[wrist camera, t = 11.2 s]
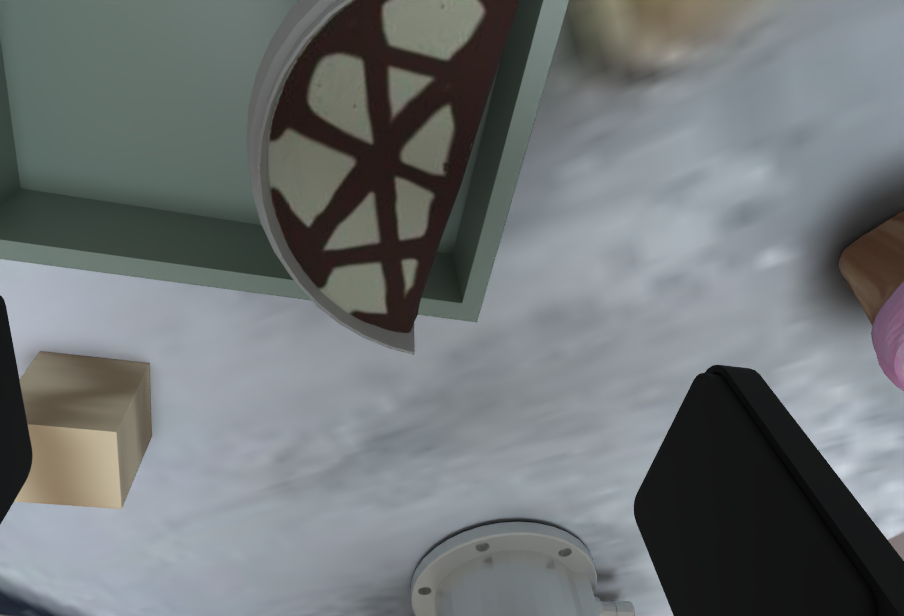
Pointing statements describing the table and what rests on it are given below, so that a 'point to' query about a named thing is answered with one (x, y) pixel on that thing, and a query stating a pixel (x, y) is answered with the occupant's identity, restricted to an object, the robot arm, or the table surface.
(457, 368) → the table surface
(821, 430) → the table surface
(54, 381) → the maple block
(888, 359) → the cupcake
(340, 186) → the food container
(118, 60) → the tote
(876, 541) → the robot arm
